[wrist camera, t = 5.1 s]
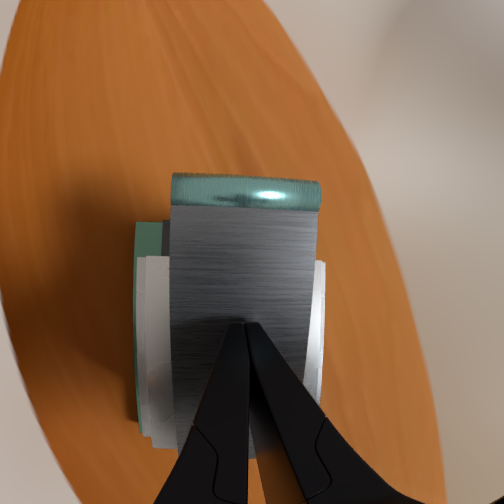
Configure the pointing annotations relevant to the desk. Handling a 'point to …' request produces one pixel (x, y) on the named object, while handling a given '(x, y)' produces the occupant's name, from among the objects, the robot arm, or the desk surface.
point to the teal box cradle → (158, 334)
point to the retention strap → (237, 273)
